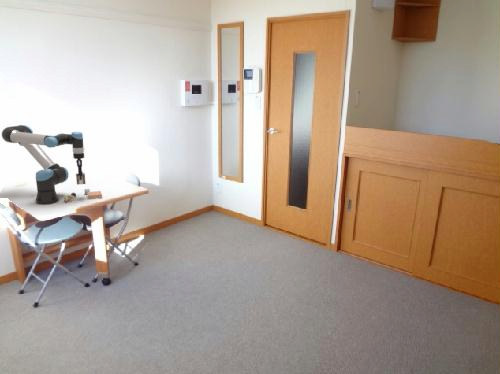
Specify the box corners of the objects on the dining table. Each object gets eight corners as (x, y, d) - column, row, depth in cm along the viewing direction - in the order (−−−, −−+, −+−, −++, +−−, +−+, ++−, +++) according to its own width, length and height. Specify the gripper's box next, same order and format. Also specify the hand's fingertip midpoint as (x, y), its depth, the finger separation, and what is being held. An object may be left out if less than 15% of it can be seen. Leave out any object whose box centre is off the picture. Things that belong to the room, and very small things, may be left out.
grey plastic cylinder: (84, 195, 308) (84, 190, 307) (84, 193, 311) (84, 189, 310) (90, 194, 309) (89, 190, 308) (90, 193, 313) (89, 188, 312)
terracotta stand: (88, 199, 298) (87, 195, 297) (87, 195, 307) (87, 192, 306) (102, 198, 302) (101, 194, 301) (101, 194, 311) (100, 190, 310)
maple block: (66, 202, 288) (65, 197, 287) (64, 201, 291) (63, 196, 290) (74, 201, 292) (74, 196, 291) (72, 200, 295) (72, 195, 294)
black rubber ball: (71, 198, 299) (70, 193, 298) (71, 196, 303) (70, 192, 302) (76, 197, 301) (75, 193, 300) (76, 196, 304) (75, 191, 303)
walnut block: (76, 184, 292) (76, 175, 290) (76, 182, 297) (76, 173, 295) (85, 183, 294) (84, 175, 292) (85, 181, 300) (84, 173, 298)
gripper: (84, 155, 282) (86, 185, 289) (83, 150, 299) (85, 179, 305) (73, 155, 279) (75, 186, 286) (72, 150, 296) (75, 180, 302)
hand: (80, 182), depth 296 cm, fingers closed on walnut block, 6 cm apart
